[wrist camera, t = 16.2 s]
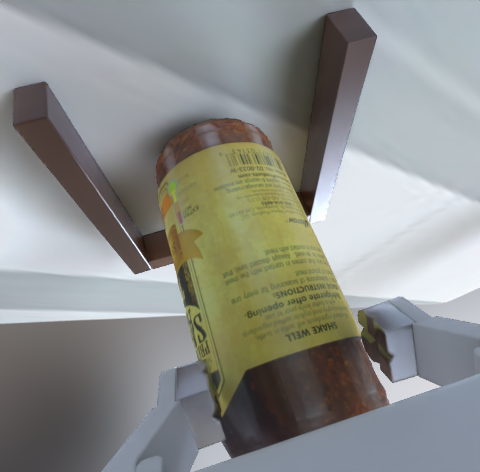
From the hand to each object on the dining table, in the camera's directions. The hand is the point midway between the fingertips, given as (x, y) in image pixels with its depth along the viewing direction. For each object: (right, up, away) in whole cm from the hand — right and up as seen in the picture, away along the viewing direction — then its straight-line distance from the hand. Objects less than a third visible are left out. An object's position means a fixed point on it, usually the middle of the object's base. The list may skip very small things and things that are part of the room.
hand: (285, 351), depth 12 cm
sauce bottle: (-3, +8, +7) cm, 11 cm away
